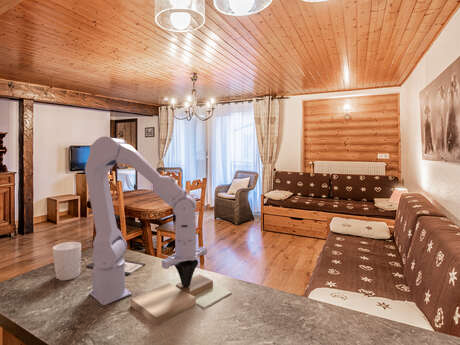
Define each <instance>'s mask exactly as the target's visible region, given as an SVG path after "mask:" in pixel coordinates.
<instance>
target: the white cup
mask: <svg viewBox="0 0 460 345" xmlns="http://www.w3.org/2000/svg"><path fill="white" fill-rule="evenodd" d="M52 256H53V266H54V271H55V279H56V280H57V279H59V280H58V281H68V280H69V281H70V280H73V279H75V278H77V277H79V276H80V274H81V264H82V262H81V261H82V243H81V242H79V241H68V242H62V243H58V244H55V245H53V246H52Z"/></svg>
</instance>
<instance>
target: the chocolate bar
mask: <svg viewBox="0 0 460 345" xmlns="http://www.w3.org/2000/svg"><path fill="white" fill-rule="evenodd" d="M124 261H125V277H126V276H127V277H128V276H130V275H132V274H133V273H135V272H137V271H138V270H140V269H142V268H143V267H145V266H146V263H144V262H138V261H130V260H127V259H124ZM144 265H145V266H144ZM94 266H95V265H94V264H93V262H92V263H91V262H90V263H89V264H87V265H85V268H87V267H88V268H87V269H92V268H93V267H94ZM142 266H143V267H142ZM141 267H142V268H141ZM139 268H140V269H139Z"/></svg>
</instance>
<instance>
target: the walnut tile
mask: <svg viewBox="0 0 460 345" xmlns="http://www.w3.org/2000/svg"><path fill="white" fill-rule="evenodd" d="M213 284H214V280H212V279H211V278H208V277H207V276H203V275H201V274H197V275H196V276H195V277H192V279H191V283H190V286H188V287H184V286H182V283H178V284H176V287H178V288H180V289H181V290H183V291H185V292H187V293H189V294H190V295H192V296H196V295H198V294H200V293H202V292H204V291H206V290H208V289H210V288H212V287H213Z"/></svg>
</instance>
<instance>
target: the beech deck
mask: <svg viewBox="0 0 460 345" xmlns="http://www.w3.org/2000/svg"><path fill="white" fill-rule="evenodd" d="M166 283H167V284H166ZM166 283H164V284H165V285H164V284H162V285H160V286H158V287H155V288H152V289H151V290H149V291H146V292H144V293H140V294H139V295H136V296H134V297H131V298H130V307H132V308H133V309H135V311H137V313H140V314H141V315H142V316H144V317H145V318H146V319H148V320H149V321H150V322H151V323H153V324H154V325H155V326H159V325H161V324H162V323H165V322H166V321H168V320H170V319H172V318H173V317H176V316H177V315H179V314H182V313H183V312H185V311H187V310H189V309H190V308H193V307H194V306H196V305H197V304H196V297H194V296H192V295H190V294H189V293H187V292H185V291H183V290H181V289H180V288H178V287H176V286H174V285H172V284H170V283H168V282H166Z"/></svg>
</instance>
